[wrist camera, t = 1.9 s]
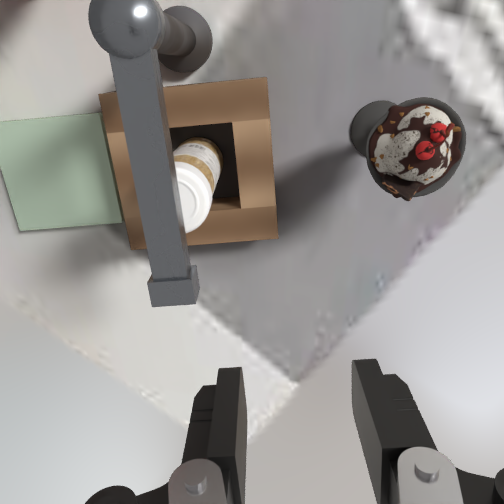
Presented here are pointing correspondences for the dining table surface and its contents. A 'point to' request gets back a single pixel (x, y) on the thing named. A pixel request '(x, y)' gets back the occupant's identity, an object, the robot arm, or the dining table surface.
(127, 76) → the bar
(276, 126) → the dining table surface
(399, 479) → the robot arm
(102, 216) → the green mat
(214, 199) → the walnut dock
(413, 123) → the sundae
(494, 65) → the dining table surface
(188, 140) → the sprinkles bottle
